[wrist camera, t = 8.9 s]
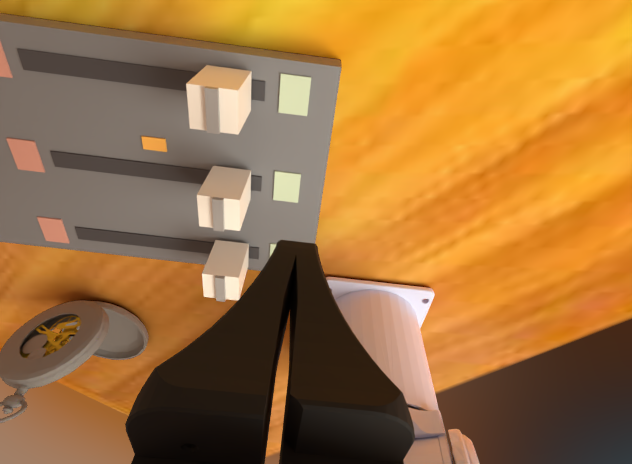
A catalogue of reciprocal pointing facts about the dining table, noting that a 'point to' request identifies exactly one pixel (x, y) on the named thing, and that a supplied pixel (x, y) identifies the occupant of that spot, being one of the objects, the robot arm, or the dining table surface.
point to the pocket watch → (59, 359)
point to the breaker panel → (152, 142)
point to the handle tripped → (224, 198)
